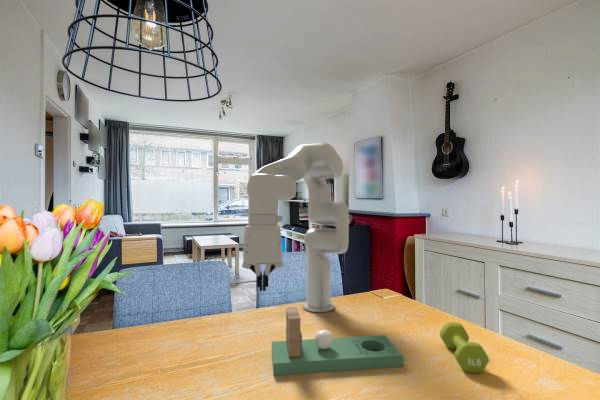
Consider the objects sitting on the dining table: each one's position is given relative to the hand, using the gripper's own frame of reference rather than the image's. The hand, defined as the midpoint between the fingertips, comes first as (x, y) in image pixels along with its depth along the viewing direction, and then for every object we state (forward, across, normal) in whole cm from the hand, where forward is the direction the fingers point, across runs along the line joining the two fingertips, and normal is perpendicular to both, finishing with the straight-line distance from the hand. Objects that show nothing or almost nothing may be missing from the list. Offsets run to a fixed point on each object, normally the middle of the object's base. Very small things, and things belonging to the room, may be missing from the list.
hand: (262, 289), depth 84 cm
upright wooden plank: (+17, -8, 0) cm, 19 cm away
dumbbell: (+20, -55, +4) cm, 58 cm away
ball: (+14, -17, 0) cm, 22 cm away
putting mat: (+20, -20, 0) cm, 28 cm away
